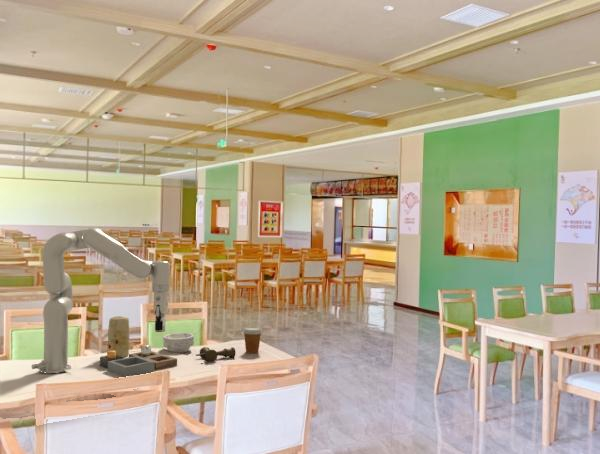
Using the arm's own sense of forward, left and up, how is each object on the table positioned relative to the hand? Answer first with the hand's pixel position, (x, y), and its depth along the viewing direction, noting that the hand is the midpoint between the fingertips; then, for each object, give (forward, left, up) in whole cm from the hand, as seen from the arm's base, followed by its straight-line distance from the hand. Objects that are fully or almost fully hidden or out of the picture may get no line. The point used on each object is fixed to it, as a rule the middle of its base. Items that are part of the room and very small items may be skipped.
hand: (160, 328), depth 246 cm
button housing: (-16, +14, -18) cm, 27 cm away
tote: (-14, +1, -18) cm, 22 cm away
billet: (0, 0, -1) cm, 1 cm away
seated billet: (0, +11, -17) cm, 20 cm away
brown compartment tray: (0, +6, -18) cm, 18 cm away
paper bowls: (+25, +21, -18) cm, 37 cm away
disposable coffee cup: (+51, -6, -18) cm, 55 cm away
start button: (-16, +14, -15) cm, 25 cm away
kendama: (+28, -5, -18) cm, 34 cm away
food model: (-5, +27, -18) cm, 32 cm away
